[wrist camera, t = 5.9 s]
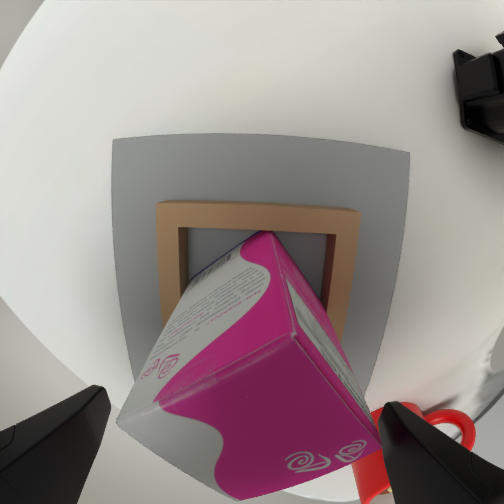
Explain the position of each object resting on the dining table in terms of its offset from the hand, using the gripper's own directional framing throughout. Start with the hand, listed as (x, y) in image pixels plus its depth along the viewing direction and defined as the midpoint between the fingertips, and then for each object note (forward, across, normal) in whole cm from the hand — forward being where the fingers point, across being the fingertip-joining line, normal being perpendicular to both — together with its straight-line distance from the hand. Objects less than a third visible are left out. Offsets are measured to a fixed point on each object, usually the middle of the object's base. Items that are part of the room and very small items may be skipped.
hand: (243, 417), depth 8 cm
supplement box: (+10, 0, 0) cm, 10 cm away
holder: (+11, 0, 0) cm, 11 cm away
